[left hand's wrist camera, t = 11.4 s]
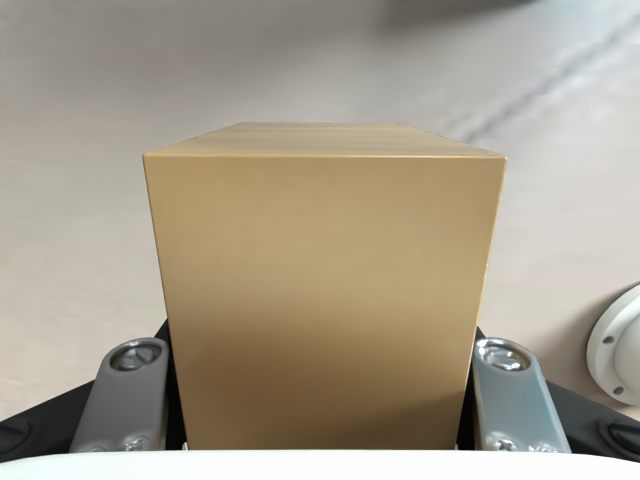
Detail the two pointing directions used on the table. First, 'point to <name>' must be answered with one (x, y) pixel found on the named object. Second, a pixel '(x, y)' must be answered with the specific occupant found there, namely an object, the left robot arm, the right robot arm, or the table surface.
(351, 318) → the bar
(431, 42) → the table surface
